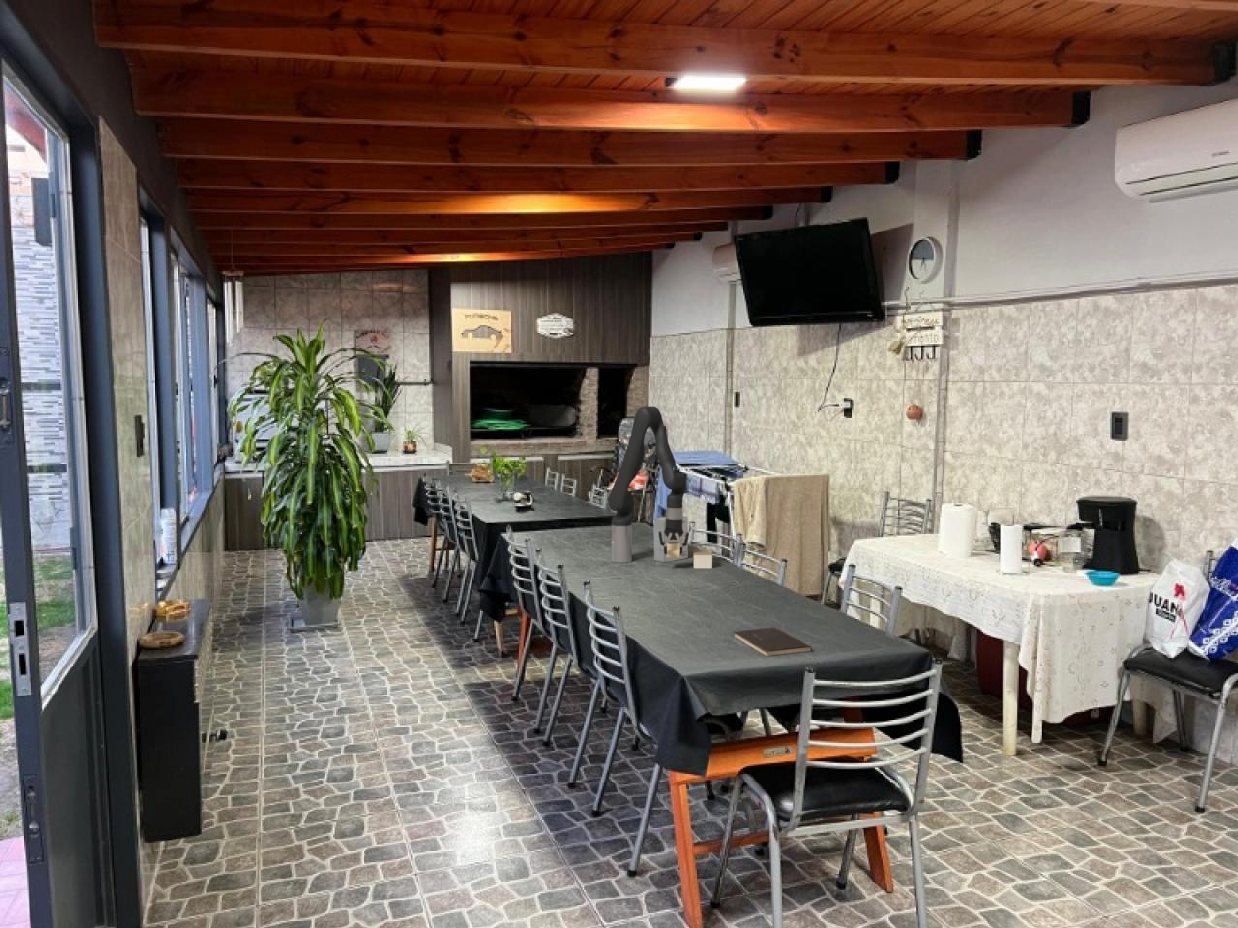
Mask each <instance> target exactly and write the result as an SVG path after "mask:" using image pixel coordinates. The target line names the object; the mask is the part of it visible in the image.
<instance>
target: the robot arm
mask: <svg viewBox="0 0 1238 928" xmlns="http://www.w3.org/2000/svg"><path fill="white" fill-rule="evenodd" d="M649 428H650V430H651V431H652V434H653V437H654V449H655V450H654V451H655V455H656V458H657V461H658V463H659V465H660V468H661V469H660V470H661V477H662V481H663V484H664V486H665V487H666V488H667V489H668V490H671V491H670V493H669V494H667V496H666V507H665V508H666V509H665V517H666V524H665V530H664V531H659V532H658V534H659V539H660V545H663V546H664V553H665V554H666V555H667V544H668V542H669V540H678V543H679V544H680V551H679V555H681V554H682V547H683V546H686V545H687V541H688V540H689V537H690V533H689V531H687V532H683V530H682V518H683V516H684V514H683V499H684V495H685V491H686V487H687V486H686V485H687V479H686V476H685V475H684V473H682V472H679V471H678V472H675V469H674V468H675V467H676V465H677V462H676V459H675V457H674V454H673V452H672V449H671V447H670V444H669V441H668V440H669V439H668V437H667V432H666V430H665V429H666V428H665V425H664V420H663V417H662V413H661V411H660V410H659V408H658V407H656V406H642V407H639V408H638V409H637V410H636V412H635V415H634V420H633V423H632V430H631V433H630V436H629V439H628V442H627V447H626V449H625V452H624V455H623V458H622V462H621V465H620V466H619V467H620V468H619V471H618V474H617V476H616V480H615V482H614V484H613V486H612V489H611V491H610V493H609V496H608V499H607V501H608V506H609V508H610V509H611V510H612V511H614V512H616V514H615V516H613V517H612V519H611V563H617V564H618V563H619V564H621V563H623V564H624V563H630V562H632V557H633V555H632V553H633V552H632V541H633V540H632V539H633V538H632V533H633V531H632V526H633V525H632V524H633V523H632V522H633V519H634V507H635V500H634V494H633V493H632V492H631V491H630V490H629V487H630V485H631V484H632V483H633V481H634V479H635V478H636V477H637V476H638V474H639V473H640V471H641V469H642V467H643V464H644V460H645V458H646V448H645V438H646V435H647V432H648V429H649ZM664 533H665V535H666V536H667V539H666V541H665V543H664V542H663V540H662V536H663V534H664ZM682 534H684V537H685V540H684V543H682V542H681V539H680V537H681V536H682Z"/></svg>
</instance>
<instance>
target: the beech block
mask: <svg viewBox="0 0 1238 928" xmlns="http://www.w3.org/2000/svg"><path fill="white" fill-rule="evenodd" d="M679 551H680V544H679V543H678V542H668V544H667V558H679Z"/></svg>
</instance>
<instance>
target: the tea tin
mask: <svg viewBox="0 0 1238 928" xmlns="http://www.w3.org/2000/svg"><path fill="white" fill-rule="evenodd" d="M692 560H693V561H692V564H693V568H694V569H713V567H712V566H713V552H712V549H692Z"/></svg>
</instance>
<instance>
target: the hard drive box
mask: <svg viewBox="0 0 1238 928" xmlns="http://www.w3.org/2000/svg"><path fill="white" fill-rule="evenodd" d="M665 524H666V516H663V517H657V518H653V560H654V561H656V562H661V563H668V562H673V561H679V560H684V559H688V557H689V555H688V554H689V553H688V551H689V550H688V549H689V548H688V546H689V545H688V541H687V545H686V546H683V547H682V554H681V555H679V558H667V555H666V554H665V553H664V546H663V545H660V539H659V534H658V532H659V531H664V530H665ZM682 530H683V532H688V516H684V515H683V518H682ZM666 539H667V536H666V535H665V533H664V534H663V536H662V540H663V542H664V543H665V541H666ZM680 539H681V542H682V543H684V540H685V537H684V534H682V536H681V537H680ZM669 542H678V540H669Z"/></svg>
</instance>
